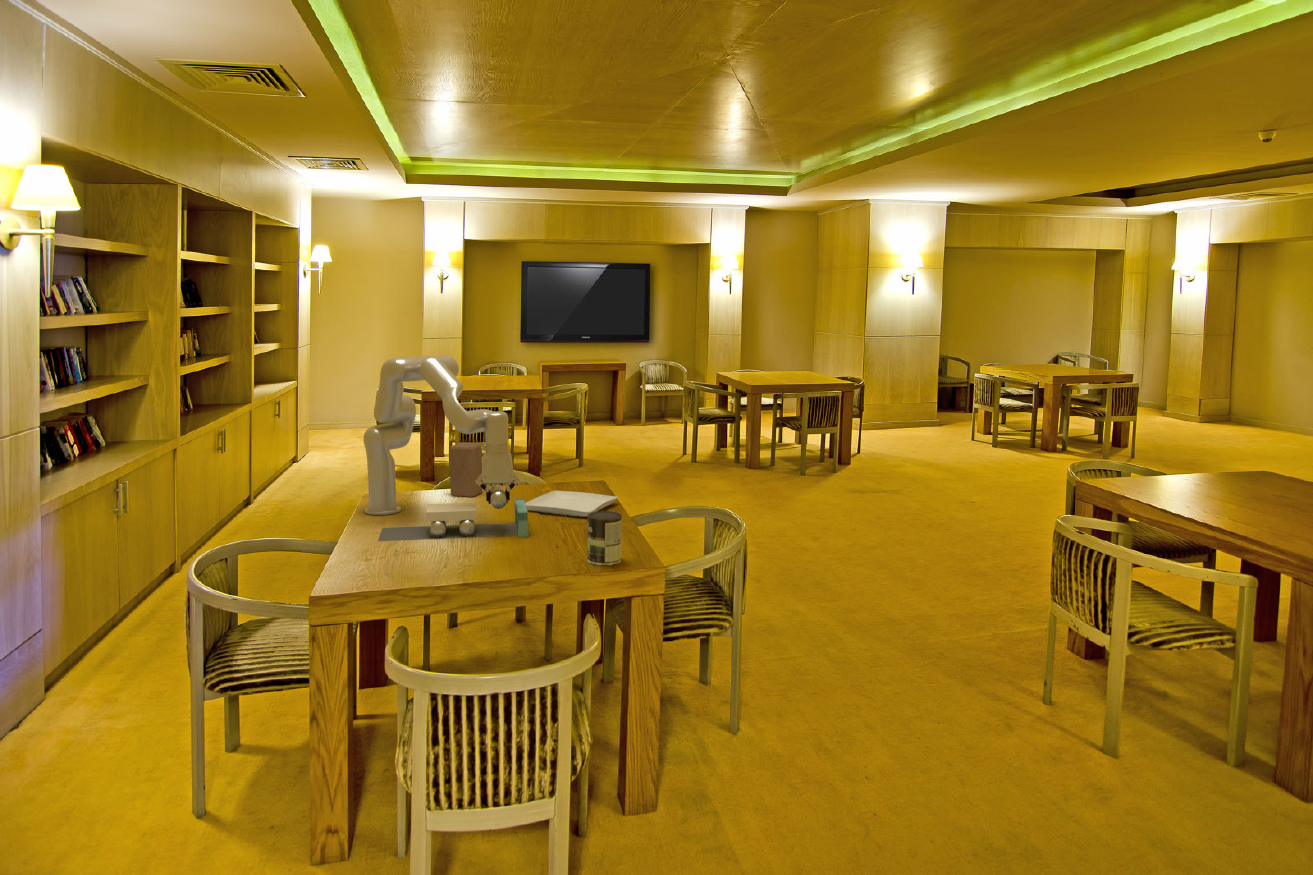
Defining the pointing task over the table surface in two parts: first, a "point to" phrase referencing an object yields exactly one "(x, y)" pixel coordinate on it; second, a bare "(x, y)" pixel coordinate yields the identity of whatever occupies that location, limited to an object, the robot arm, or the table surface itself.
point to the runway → (453, 531)
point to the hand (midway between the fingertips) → (498, 502)
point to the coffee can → (604, 538)
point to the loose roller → (498, 496)
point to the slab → (451, 512)
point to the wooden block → (465, 469)
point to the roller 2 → (467, 527)
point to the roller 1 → (437, 529)
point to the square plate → (570, 503)
